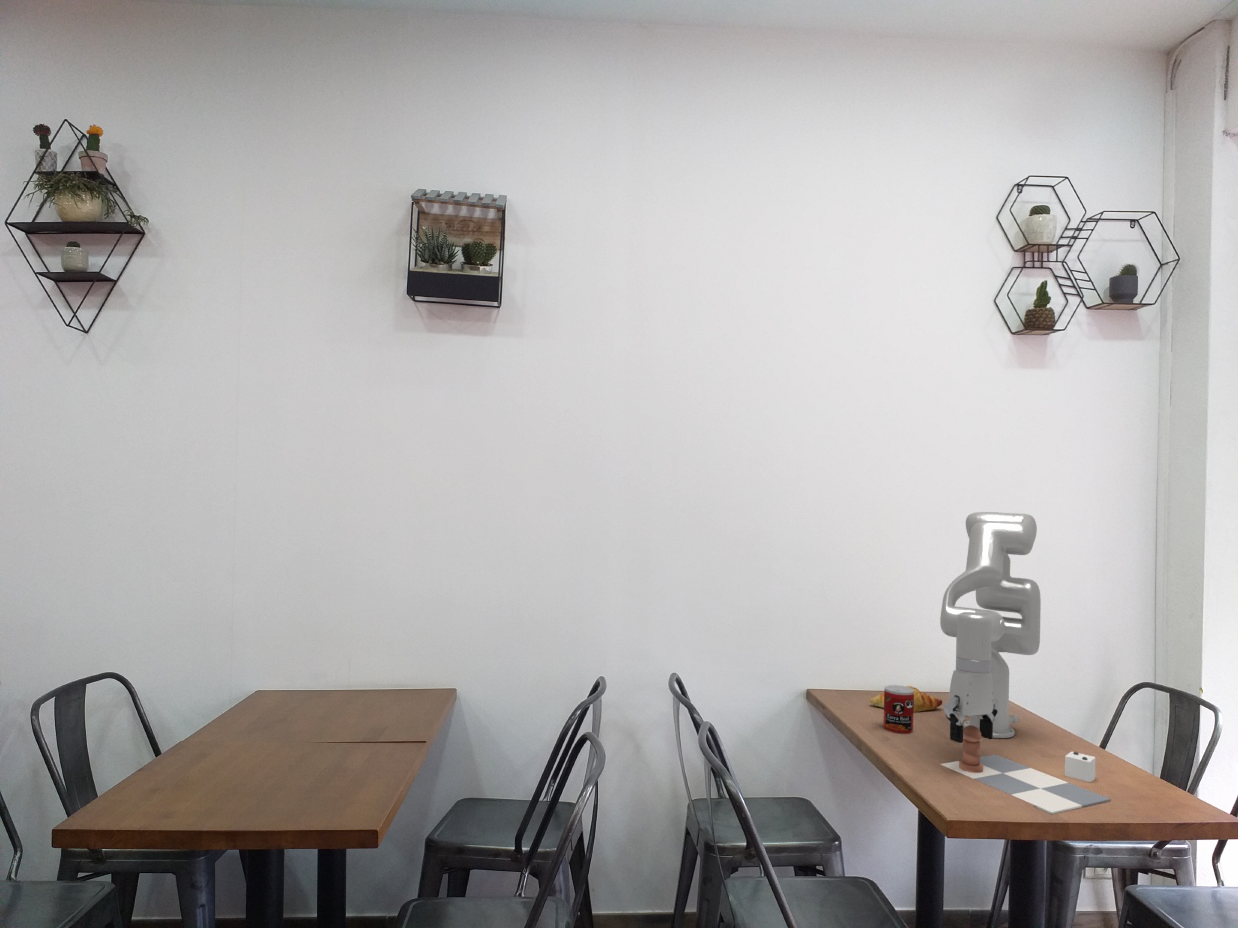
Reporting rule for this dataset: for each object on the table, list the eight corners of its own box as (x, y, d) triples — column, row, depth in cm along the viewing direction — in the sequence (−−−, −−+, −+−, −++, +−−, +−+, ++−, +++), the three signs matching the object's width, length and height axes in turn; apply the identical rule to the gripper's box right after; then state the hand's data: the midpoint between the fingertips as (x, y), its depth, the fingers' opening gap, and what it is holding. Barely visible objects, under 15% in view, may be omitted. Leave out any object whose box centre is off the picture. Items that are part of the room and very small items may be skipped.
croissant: (873, 720, 229) (876, 700, 225) (864, 696, 238) (868, 676, 234) (945, 722, 228) (950, 702, 224) (933, 698, 237) (938, 678, 233)
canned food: (882, 731, 208) (883, 690, 208) (884, 722, 215) (885, 683, 216) (912, 735, 205) (913, 693, 205) (913, 727, 212) (914, 687, 213)
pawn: (969, 763, 184) (970, 721, 184) (988, 770, 179) (989, 727, 180) (954, 765, 182) (954, 723, 182) (972, 773, 177) (973, 730, 177)
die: (1070, 772, 182) (1071, 748, 182) (1095, 778, 178) (1095, 754, 178) (1064, 777, 178) (1065, 753, 178) (1089, 784, 175) (1089, 759, 175)
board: (995, 756, 191) (995, 754, 191) (1110, 800, 165) (1110, 798, 165) (940, 765, 183) (940, 763, 183) (1051, 814, 157) (1051, 812, 157)
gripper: (985, 660, 188) (983, 731, 187) (933, 664, 181) (931, 737, 180) (1012, 667, 181) (1010, 741, 180) (959, 671, 174) (957, 747, 173)
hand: (971, 739), depth 180 cm, fingers open, 9 cm apart
